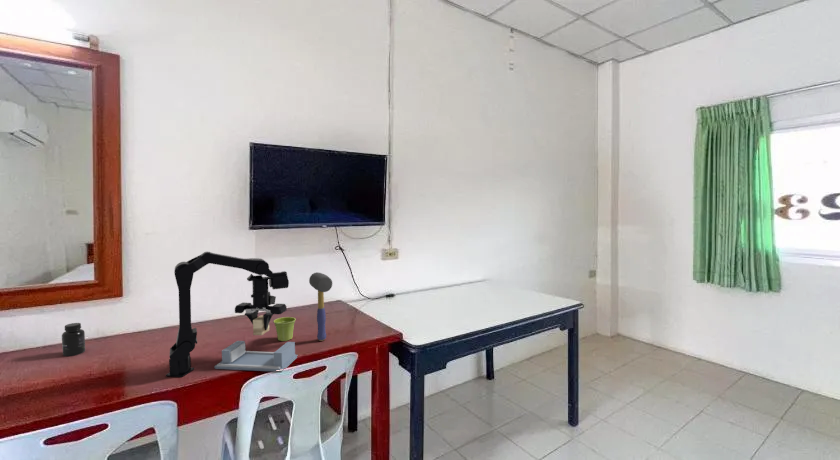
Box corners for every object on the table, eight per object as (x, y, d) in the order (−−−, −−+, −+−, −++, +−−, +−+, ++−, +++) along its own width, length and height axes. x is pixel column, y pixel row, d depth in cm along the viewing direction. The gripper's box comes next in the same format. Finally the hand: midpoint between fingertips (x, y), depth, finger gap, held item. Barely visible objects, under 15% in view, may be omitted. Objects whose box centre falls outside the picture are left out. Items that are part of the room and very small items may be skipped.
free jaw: (231, 364, 138) (230, 351, 138) (222, 363, 139) (221, 350, 138) (246, 353, 148) (245, 341, 148) (238, 352, 148) (237, 340, 148)
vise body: (282, 371, 135) (281, 354, 134) (214, 368, 137) (213, 351, 137) (297, 357, 148) (297, 341, 147) (235, 354, 150) (235, 338, 150)
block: (261, 335, 145) (261, 320, 145) (253, 335, 145) (252, 319, 145) (269, 330, 151) (269, 315, 151) (261, 329, 151) (260, 315, 151)
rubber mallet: (309, 337, 169) (307, 272, 167) (325, 334, 173) (324, 270, 171) (318, 346, 158) (316, 276, 156) (334, 342, 163) (333, 274, 160)
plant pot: (274, 336, 170) (273, 318, 169) (295, 334, 173) (295, 315, 173) (273, 344, 161) (273, 324, 161) (296, 341, 165) (296, 321, 164)
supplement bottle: (58, 357, 147) (56, 328, 146) (69, 351, 154) (67, 322, 153) (79, 355, 149) (77, 326, 148) (89, 349, 156) (87, 321, 155)
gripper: (292, 286, 154) (292, 323, 155) (248, 285, 156) (249, 322, 157) (279, 293, 143) (280, 333, 144) (233, 292, 145) (234, 331, 146)
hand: (261, 329), depth 148 cm, fingers closed on block, 3 cm apart
